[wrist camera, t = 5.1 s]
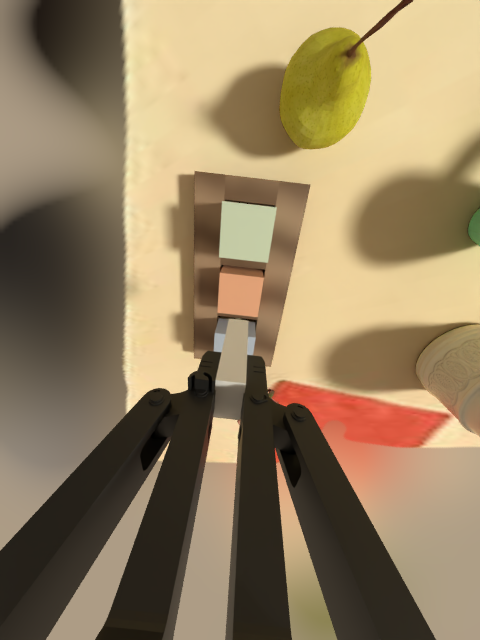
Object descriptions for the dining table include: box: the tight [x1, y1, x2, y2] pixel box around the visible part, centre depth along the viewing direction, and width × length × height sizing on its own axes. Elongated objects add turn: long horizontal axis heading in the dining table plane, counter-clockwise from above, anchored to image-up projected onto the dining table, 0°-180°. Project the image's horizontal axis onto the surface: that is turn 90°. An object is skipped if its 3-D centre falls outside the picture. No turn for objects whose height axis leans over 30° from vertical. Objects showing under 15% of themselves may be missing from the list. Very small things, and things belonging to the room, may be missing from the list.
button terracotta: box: [217, 265, 264, 317], centre depth 27 cm, size 5×5×4 cm
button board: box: [194, 171, 310, 367], centre depth 28 cm, size 24×12×2 cm, turn 174°
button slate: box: [214, 318, 256, 355], centre depth 28 cm, size 5×5×4 cm
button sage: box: [219, 201, 277, 263], centre depth 22 cm, size 5×5×4 cm
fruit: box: [279, 0, 413, 149], centre depth 16 cm, size 7×7×12 cm
